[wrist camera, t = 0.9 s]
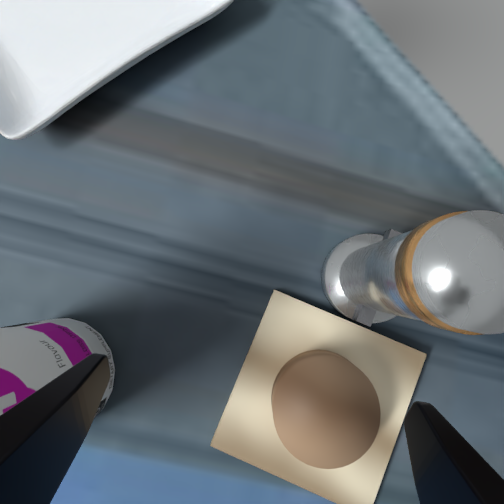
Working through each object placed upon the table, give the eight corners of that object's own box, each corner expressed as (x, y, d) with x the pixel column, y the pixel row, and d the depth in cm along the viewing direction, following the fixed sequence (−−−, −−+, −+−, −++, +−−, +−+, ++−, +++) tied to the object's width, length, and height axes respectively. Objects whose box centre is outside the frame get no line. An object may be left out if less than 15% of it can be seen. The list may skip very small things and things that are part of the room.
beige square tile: (364, 509, 23) (380, 543, 20) (211, 440, 23) (205, 463, 20) (421, 352, 24) (444, 361, 21) (273, 289, 24) (276, 290, 21)
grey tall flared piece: (387, 334, 24) (543, 394, 11) (308, 301, 24) (368, 320, 11) (417, 255, 24) (598, 222, 12) (339, 223, 25) (430, 156, 12)
